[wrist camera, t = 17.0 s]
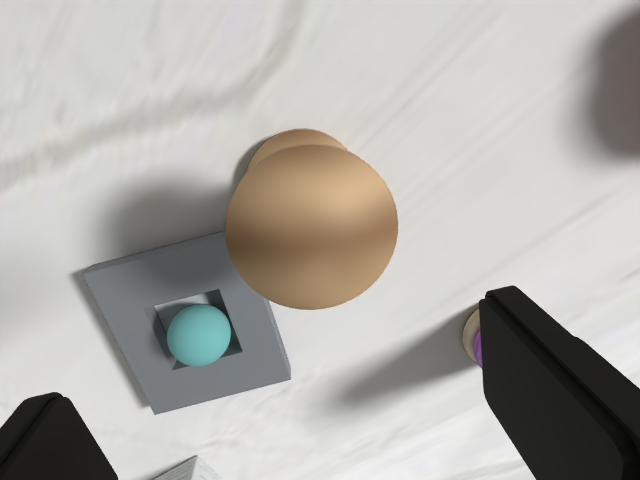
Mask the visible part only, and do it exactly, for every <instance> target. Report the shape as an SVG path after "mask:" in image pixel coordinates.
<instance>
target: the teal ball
mask: <svg viewBox="0 0 640 480" xmlns="http://www.w3.org/2000/svg"><path fill="white" fill-rule="evenodd" d="M230 337H231V329H230V324H229V321H228V319H227V318H226V316H225V315H224V314H223V312H222V311H220V310H219V309H217V308H216V307H214V306H211V305H208V304H195V305H191V306H188V307H186V308H184V309H183V310H181V311H180V312H179V313H178V314H177V315H176V316H175V317H174V318H173V320H172V321H171V323H170V325H169V328H168V332H167V343H168V347H169V349H170V351H171V353H172V354H173V356H174V357H175V358H176V359H177V360H178V361H180V362H181V363H183V364H185V365H189V366H205V365H208V364H210V363H213V362H214V361H216V360H217V359H219V358H220V357H221V356H222V355H223V353H224V352H225V351H226V349H227V347H228V345H229V342H230Z"/></svg>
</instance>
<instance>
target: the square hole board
mask: <svg viewBox="0 0 640 480" xmlns="http://www.w3.org/2000/svg"><path fill="white" fill-rule="evenodd" d="M82 276H83V278H84V280H85V282H86V284H87V286H88V287H89V289H90V291H91V293H92V295H93V297H94V299H95V301H96V303H97V305H98V307H99V309H100V311H101V312H102V314H103V316H104V318H105V320H106V322H107V324H108V326H109V328H110V330H111V332H112V334H113V336H114V337H115V339H116V341H117V343H118V345H119V347H120V349H121V351H122V353H123V355H124V357H125V359H126V361H127V363H128V364H129V366H130V368H131V370H132V372H133V374H134V376H135V378H136V380H137V382H138V384H139V386H140V388H141V389H142V391H143V393H144V395H145V397H146V399H147V401H148V403H149V405H150V407H151V409H152V411H153V413H154V414H155V415H156V414H160V413H164V412H168V411H172V410H175V409H179V408H183V407H187V406H191V405H195V404H199V403H202V402H206V401H210V400H214V399H218V398H222V397H225V396H229V395H233V394H237V393H241V392H245V391H248V390H252V389H256V388H260V387H264V386H268V385H272V384H275V383H279V382H283V381H287V380H291V368H290V364H289V361H288V358H287V355H286V352H285V349H284V345H283V342H282V339H281V336H280V333H279V330H278V327H277V324H276V321H275V318H274V315H273V312H272V309H271V306H270V303H269V300H268V299H266V298H264V297H263V296H261V295H260V294H258V293H257V292H256V291H254V290H253V289H252V288H251V287H250V286H249V285H248V284H247V283H246V282H245V281H244V280H243V279H242V277H241V276H240V275H239V273H238V272H237V270H236V268H235V267H234V265H233V263H232V260H231V258H230V256H229V252H228V249H227V245H226V238H225V231H222V232H218V233H214V234H210V235H206V236H202V237H199V238H195V239H191V240H187V241H183V242H179V243H176V244H172V245H168V246H164V247H160V248H156V249H152V250H149V251H145V252H141V253H137V254H133V255H129V256H125V257H122V258H118V259H114V260H110V261H106V262H102V263H99V264H95V265H92V266H91V267H90V268H89V269H88V270H86V271H85V272H84V273H83V274H82ZM217 289H219V290H220V293H221V296H222V298H223V301H224V304H225V306H226V309H227V311H228V314H229V317H230V319H231V322H232V325H233V327H234V330H235V332H236V335H237V338H238V340H239V341H238V342H235V343H231V344H229V345H228V347H227V349H226V351H225V352H224V353H223V355H222V356H221V357H220V358H219V359H217V360H216V361H214V362H213V363H210V364H208V365H205V366H189V365H185V364H183V363H181V362H180V361H178V360H177V359H176V358H175V357H174V356H173V354H172V353H171V351H170V349H169V347H168V343H167V334H166V332H165V329H164V327H163V325H162V323H161V321H160V318H159V316H158V314H157V312H156V310H155V308H154V306H155V305H159V304H163V303H167V302H171V301H175V300H179V299H182V298H186V297H190V296H194V295H198V294H202V293H205V292H209V291H213V290H217Z"/></svg>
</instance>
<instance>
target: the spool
mask: <svg viewBox="0 0 640 480" xmlns="http://www.w3.org/2000/svg"><path fill="white" fill-rule="evenodd" d="M397 234H398V218H397V210H396V206H395V202H394V200H393V197H392V195H391V192H390V190H389V189H388V187H387V185H386V183H385V182H384V180H383V179H382V178H381V177H380V175H379V174H378V173H377V172H376V171H375V170H374V169H373V168H372V167H371V166H370V165H369V164H367V163H366V162H365V161H363V160H362V159H361V158H359V157H358V156H356V155H355V154H353V153H351V152H349V151H348V150H347V149H346V148H345V147H344V146H343V145H342V144H341V143H340V142H338V141H337V140H336V139H334V138H333V137H331V136H329V135H327V134H325V133H323V132H320V131H316V130H312V129H293V130H288V131H285V132H282V133H279V134H277V135H275V136H273V137H272V138H270V139H269V140H267V141H266V142H265V143H264V144H263V145H262V146H261V147H260V148H259V149H258V150H257V151H256V153H255V154H254V156H253V158H252V159H251V161H250V163H249V166H248V168H247V171H246V174H245V175H244V177H243V178H242V180H241V181H240V183H239V184H238V186H237V188H236V190H235V192H234V194H233V196H232V198H231V200H230V203H229V206H228V210H227V214H226V220H225V238H226V245H227V249H228V252H229V256H230V258H231V260H232V263H233V265H234V267H235V268H236V270H237V272H238V273H239V275H240V276H241V277H242V279H243V280H244V281H245V282H246V283H247V284H248V285H249V286H250V287H251V288H252V289H253V290H254V291H256V292H257V293H258V294H260V295H261V296H263V297H264V298H266V299H268V300H270V301H272V302H274V303H277V304H279V305H282V306H286V307H290V308H295V309H304V310H315V309H324V308H329V307H334V306H337V305H340V304H343V303H345V302H347V301H349V300H352V299H353V298H355V297H357V296H358V295H360V294H361V293H363V292H364V291H365V290H367V289H368V288H369V287H370V286H371V285H372V284H373V283H374V282H375V281H376V280H377V279H378V278H379V277H380V275H381V274H382V273H383V271H384V270H385V268H386V267H387V265H388V263H389V261H390V259H391V257H392V255H393V252H394V248H395V245H396V240H397Z"/></svg>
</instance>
